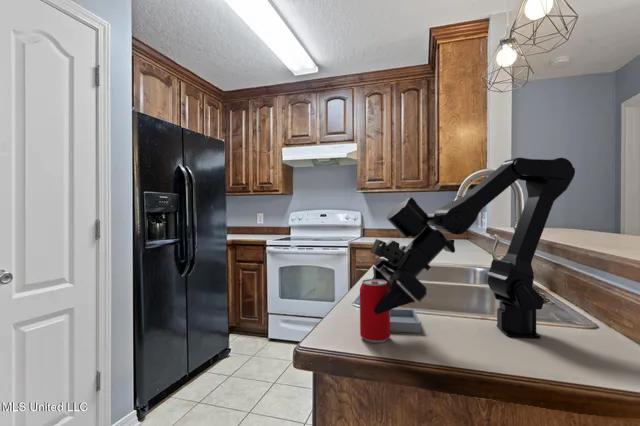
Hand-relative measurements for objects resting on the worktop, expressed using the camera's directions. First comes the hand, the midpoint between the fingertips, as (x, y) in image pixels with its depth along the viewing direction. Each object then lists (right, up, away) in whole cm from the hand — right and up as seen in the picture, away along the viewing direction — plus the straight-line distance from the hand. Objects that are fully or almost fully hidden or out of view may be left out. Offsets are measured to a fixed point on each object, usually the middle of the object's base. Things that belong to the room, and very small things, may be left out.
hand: (369, 305), depth 68 cm
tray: (+8, -7, +9) cm, 13 cm away
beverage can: (+1, -7, 0) cm, 7 cm away
